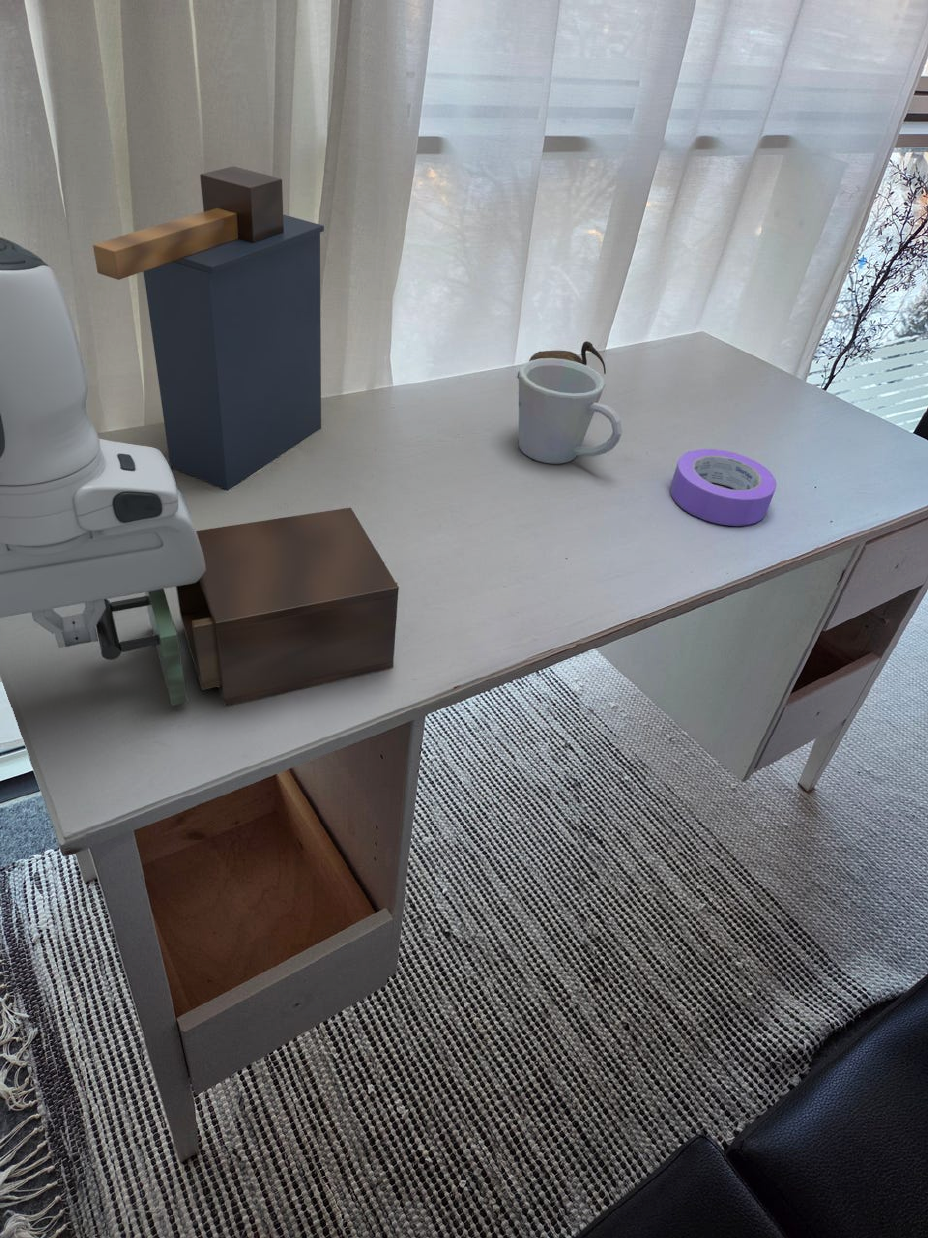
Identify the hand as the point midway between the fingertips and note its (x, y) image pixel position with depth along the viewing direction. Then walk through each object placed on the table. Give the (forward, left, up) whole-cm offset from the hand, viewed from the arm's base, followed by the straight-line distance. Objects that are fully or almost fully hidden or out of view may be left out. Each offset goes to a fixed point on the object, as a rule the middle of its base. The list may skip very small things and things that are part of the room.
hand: (78, 639), depth 65 cm
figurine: (+67, +39, -5) cm, 78 cm away
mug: (+58, +23, -5) cm, 62 cm away
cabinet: (+17, 0, -5) cm, 18 cm away
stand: (+21, +34, -5) cm, 41 cm away
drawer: (+10, 0, -4) cm, 11 cm away
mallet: (+16, +30, +19) cm, 39 cm away
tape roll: (+72, +9, -5) cm, 73 cm away
